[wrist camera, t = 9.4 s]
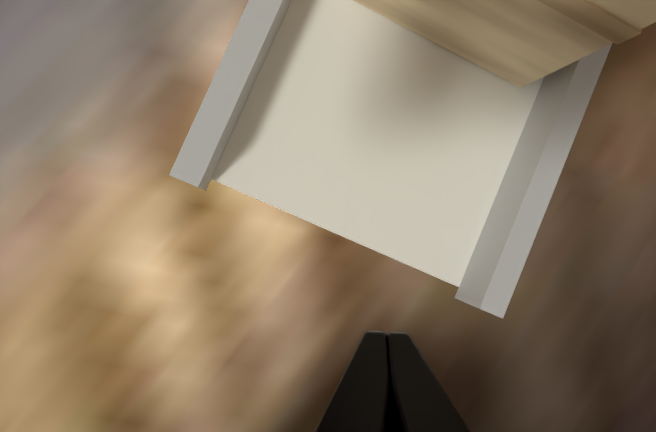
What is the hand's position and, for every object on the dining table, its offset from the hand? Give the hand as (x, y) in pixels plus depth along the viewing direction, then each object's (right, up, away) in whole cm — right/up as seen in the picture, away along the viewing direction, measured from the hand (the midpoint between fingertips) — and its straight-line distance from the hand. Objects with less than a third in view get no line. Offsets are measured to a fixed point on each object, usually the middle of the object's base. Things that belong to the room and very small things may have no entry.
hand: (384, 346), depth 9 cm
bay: (+3, +10, +14) cm, 17 cm away
